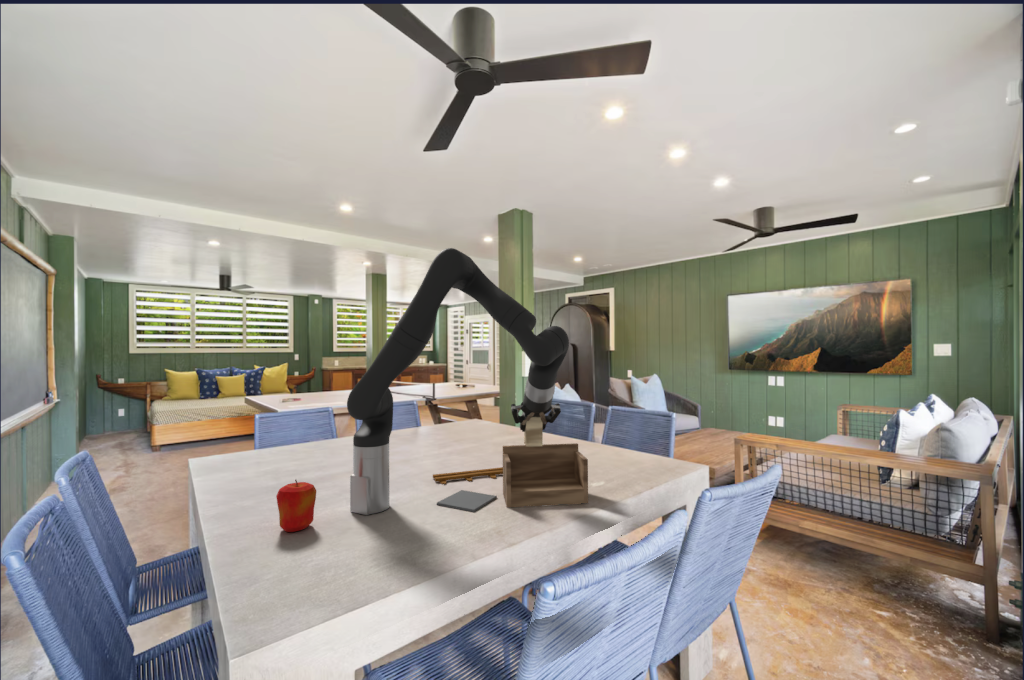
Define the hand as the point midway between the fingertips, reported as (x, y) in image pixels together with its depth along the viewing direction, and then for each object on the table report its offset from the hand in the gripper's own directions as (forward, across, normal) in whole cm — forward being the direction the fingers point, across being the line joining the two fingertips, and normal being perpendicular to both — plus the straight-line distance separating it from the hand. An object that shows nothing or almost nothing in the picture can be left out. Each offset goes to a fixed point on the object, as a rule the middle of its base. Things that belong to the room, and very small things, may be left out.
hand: (531, 428), depth 126 cm
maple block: (+2, 0, +4) cm, 4 cm away
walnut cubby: (+13, -3, +14) cm, 20 cm away
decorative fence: (+31, +16, -2) cm, 35 cm away
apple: (+4, +59, +24) cm, 64 cm away
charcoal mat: (+13, +18, +14) cm, 27 cm away
